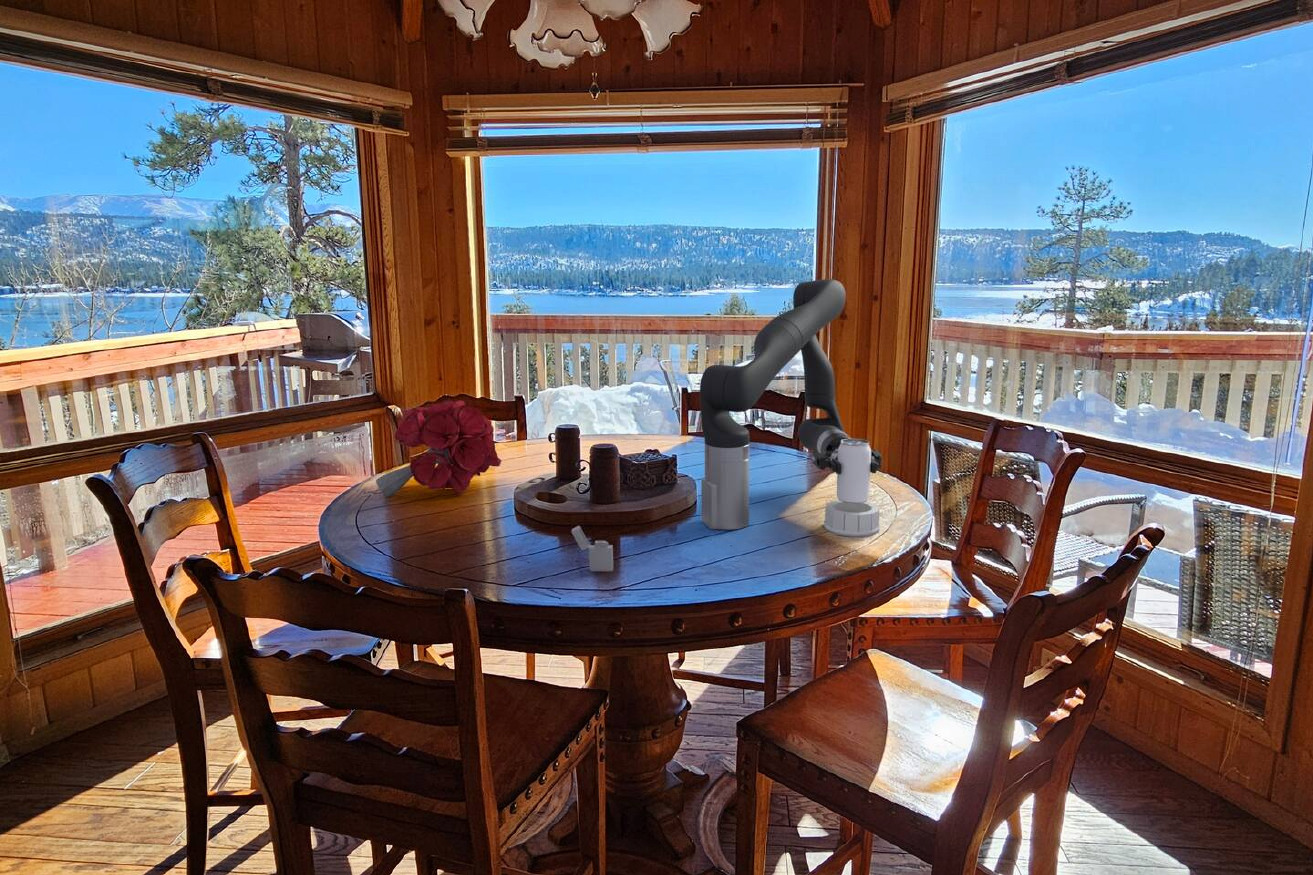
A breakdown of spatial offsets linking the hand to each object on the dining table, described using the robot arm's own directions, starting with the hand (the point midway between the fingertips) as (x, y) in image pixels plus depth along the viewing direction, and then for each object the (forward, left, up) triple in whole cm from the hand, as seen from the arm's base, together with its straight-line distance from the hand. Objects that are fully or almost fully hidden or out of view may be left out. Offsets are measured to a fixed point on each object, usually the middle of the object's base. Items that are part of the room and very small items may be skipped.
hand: (857, 468), depth 159 cm
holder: (0, +2, -13) cm, 13 cm away
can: (+1, +2, -7) cm, 8 cm away
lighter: (-55, -4, -13) cm, 56 cm away
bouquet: (-80, +58, -13) cm, 99 cm away
